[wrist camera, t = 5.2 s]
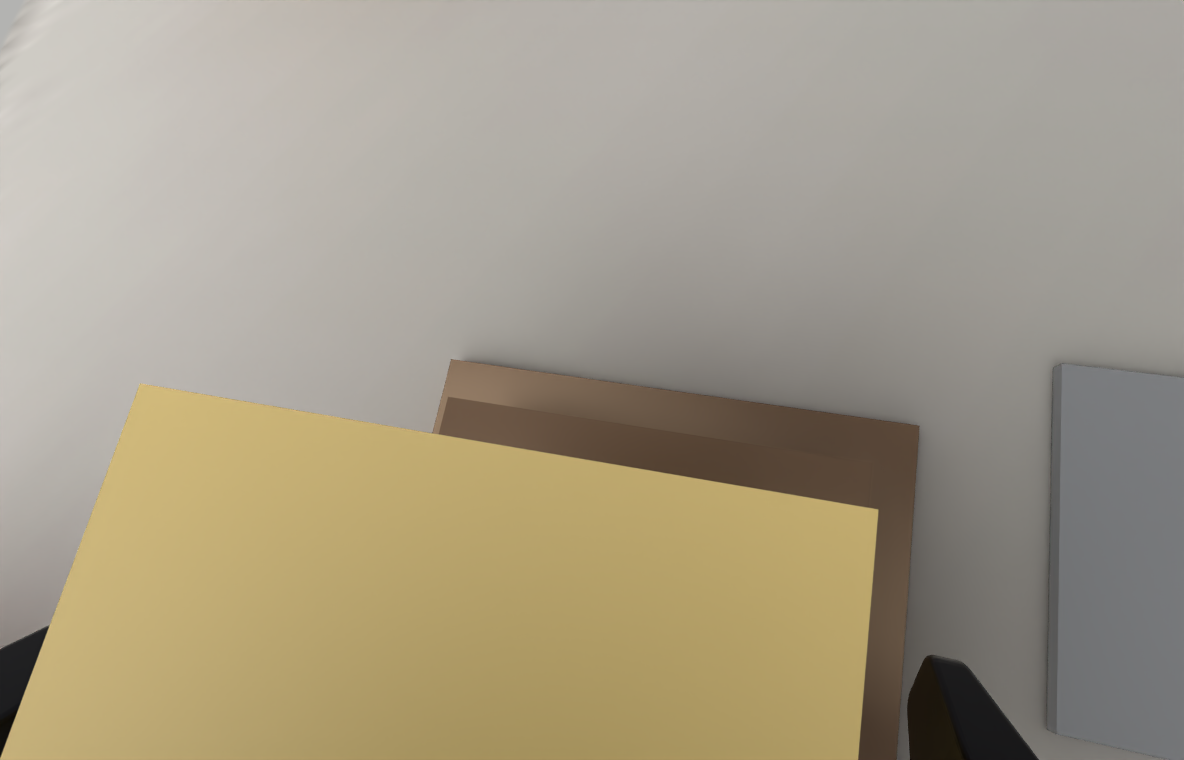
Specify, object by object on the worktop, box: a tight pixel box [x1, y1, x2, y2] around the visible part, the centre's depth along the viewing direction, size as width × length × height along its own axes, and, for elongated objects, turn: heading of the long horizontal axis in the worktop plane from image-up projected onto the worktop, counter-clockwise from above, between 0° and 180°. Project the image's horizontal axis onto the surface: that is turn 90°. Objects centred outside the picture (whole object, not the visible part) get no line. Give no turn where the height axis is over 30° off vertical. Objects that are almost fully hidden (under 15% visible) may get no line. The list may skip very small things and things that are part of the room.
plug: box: [0, 384, 878, 760], centre depth 9 cm, size 5×5×12 cm
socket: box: [433, 359, 919, 760], centre depth 14 cm, size 12×12×4 cm
